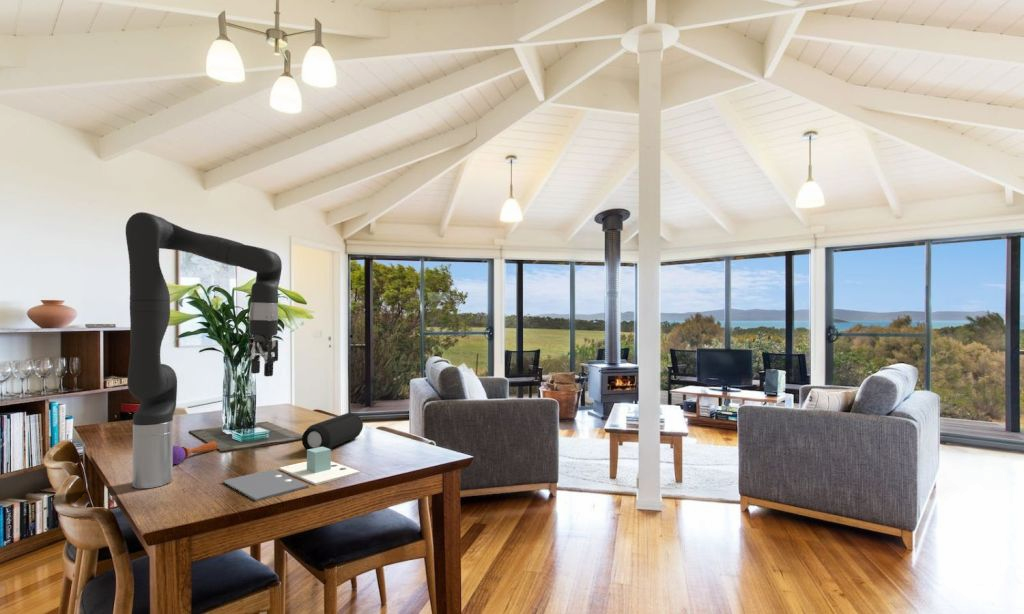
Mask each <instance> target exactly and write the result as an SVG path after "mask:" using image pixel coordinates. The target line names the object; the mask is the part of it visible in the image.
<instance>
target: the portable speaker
mask: <svg viewBox="0 0 1024 614" xmlns="http://www.w3.org/2000/svg"><path fill="white" fill-rule="evenodd" d="M363 426H364V423H363V419H362V418H361V417H360V416H359V415H358V414H355V413H354V412H353V413H351V412H347V413H344V414H342V415H341V414H340V415H337V416H335V417H331V418H329V419H326V420H323V421H319V422H318V423H314V424H312V425H309V427H307V428H306V430H304V431H303V434H302V437H301V443H302V446H303V448H304V449H305V450H306V451H307V450H308V449H313V448H318V447H325V448H328V449H331V450H332V449H333V448H336V447H338V446H340V445H343V444H345V443H348V442H350V441H352V440H354V439H356V438H358V437H359V436H360V434H361V433H362V431H363V428H364V427H363Z"/></svg>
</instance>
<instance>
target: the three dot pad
mask: <svg viewBox="0 0 1024 614" xmlns="http://www.w3.org/2000/svg"><path fill="white" fill-rule="evenodd" d="M278 470H279V471H281V472H284V473H286V474H288V475H291V476H292V477H295V478H298V479H300V480H302V481H305V482H306V483H309V484H312V485H314V486H319V485H321V484H325V483H326V484H327V483H329V482H333V481H337V480H340V479H345V478H348V477H351V476H356V475H360V474H361V471H359V470H357V469H354V468H352V467H349V466H346V465H344V464H340V463H338V462H334V461H332V460H331V469H330V470H326V471H322V472H318V473H313V472H311V471H309V470H307V460H306V461H303V462H299V463H298V462H297V463H294V464H289V465H283V466H280V467H278Z"/></svg>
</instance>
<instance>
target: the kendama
mask: <svg viewBox="0 0 1024 614" xmlns="http://www.w3.org/2000/svg"><path fill="white" fill-rule="evenodd" d="M215 449H216V450H217V449H218V443H217V442H216V441H214V440H213V441H210V442H207V443H205V444H202V445H199V446H197V447H195V448H191V449H190V448H187V447H185V446H179V445H173V466H175V465H174V464H176V465H179V464H181V463H182V462H183V461H184V460H186V459H187V458H188V457H189V456H191V454H195V453H205V452H213V451H212V450H214V451H216V450H215Z"/></svg>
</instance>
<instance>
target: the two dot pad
mask: <svg viewBox="0 0 1024 614" xmlns="http://www.w3.org/2000/svg"><path fill="white" fill-rule="evenodd" d="M222 482H223V483H222ZM221 483H222V484H224V483H225V484H227V485H229V486H230V487H229V486H228V487H229V488H231V487H232V488H231V489H233V488H234V489H233V490H235V489H236V490H238V491H239V492H238V491H237V492H238V493H240V492H241V493H240V494H242V493H243V495H244V494H245V495H244V496H245V497H247V496H248V497H247V498H249V499H251V500H253V501H255V502H260V501H263V500H266V499H269V498H270V499H271V498H273V497H278V496H281V495H285V494H288V493H292V492H296V491H300V490H304V489H308V488H309V487H310V485H309V484H307V483H306V482H303V481H301V480H298V479H295V478H293V476H289V475H286V474H285V473H282V472H280V471H278V470H275V469H273V468H271V469H268V470H263V471H258V472H254V473H250V474H246V475H240V476H236V477H232V478H229V479H225V480H222V481H221ZM225 484H224V485H225ZM227 485H226V486H227ZM236 490H235V491H236Z"/></svg>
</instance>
